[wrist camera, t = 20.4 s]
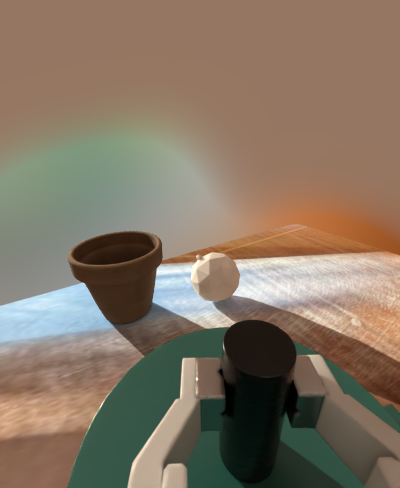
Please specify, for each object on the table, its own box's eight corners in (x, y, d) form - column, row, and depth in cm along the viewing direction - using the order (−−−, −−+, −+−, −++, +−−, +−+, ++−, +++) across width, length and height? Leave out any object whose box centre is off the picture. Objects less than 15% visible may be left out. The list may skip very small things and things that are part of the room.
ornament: (222, 319, 32) (184, 275, 30) (204, 304, 39) (173, 267, 37) (258, 283, 33) (224, 239, 32) (235, 275, 40) (206, 239, 39)
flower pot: (86, 295, 38) (71, 236, 34) (158, 280, 41) (152, 225, 37) (82, 350, 28) (59, 275, 24) (176, 324, 31) (171, 255, 27)
